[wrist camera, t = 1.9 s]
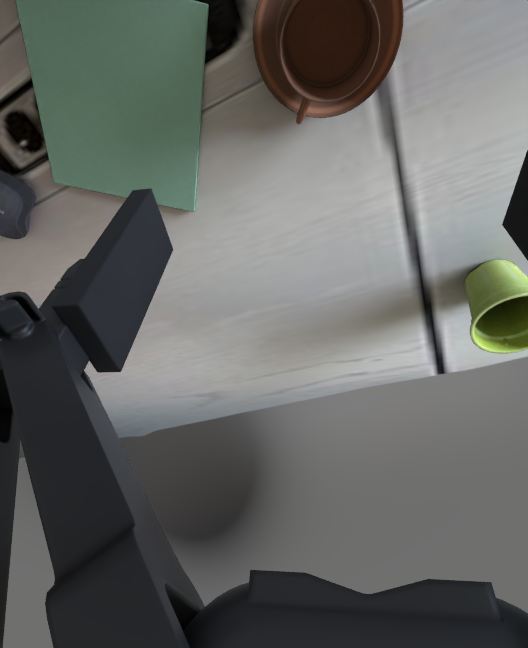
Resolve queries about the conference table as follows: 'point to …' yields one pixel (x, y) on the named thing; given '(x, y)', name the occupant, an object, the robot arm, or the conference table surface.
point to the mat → (120, 92)
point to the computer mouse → (14, 206)
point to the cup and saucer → (325, 51)
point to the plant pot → (498, 307)
